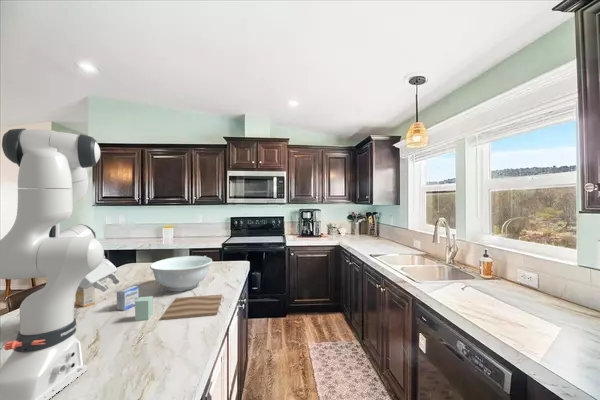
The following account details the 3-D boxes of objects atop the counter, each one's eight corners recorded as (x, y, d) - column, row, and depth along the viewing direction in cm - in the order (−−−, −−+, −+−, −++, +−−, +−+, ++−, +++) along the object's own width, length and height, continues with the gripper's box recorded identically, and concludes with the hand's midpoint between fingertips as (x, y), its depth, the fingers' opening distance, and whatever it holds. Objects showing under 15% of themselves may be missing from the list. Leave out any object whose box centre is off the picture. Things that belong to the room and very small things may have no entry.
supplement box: (74, 304, 125) (74, 277, 125) (86, 301, 129) (86, 274, 129) (83, 307, 121) (83, 279, 121) (95, 304, 125) (95, 276, 126)
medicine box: (124, 310, 117) (124, 291, 117) (116, 310, 118) (116, 291, 118) (138, 304, 125) (138, 286, 125) (131, 303, 126) (130, 285, 126)
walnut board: (216, 315, 112) (216, 312, 112) (161, 320, 108) (161, 317, 108) (222, 296, 134) (222, 294, 134) (176, 300, 129) (176, 297, 129)
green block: (148, 319, 108) (148, 300, 108) (135, 320, 107) (135, 301, 107) (152, 314, 113) (152, 296, 113) (140, 315, 112) (140, 297, 112)
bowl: (184, 300, 129) (184, 271, 129) (135, 293, 140) (135, 266, 140) (223, 281, 160) (223, 257, 160) (181, 276, 170) (181, 254, 170)
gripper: (74, 264, 96) (104, 288, 98) (105, 253, 116) (129, 274, 118) (61, 277, 95) (91, 301, 97) (93, 264, 116) (118, 284, 117)
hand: (112, 286), depth 108 cm, fingers open, 8 cm apart
